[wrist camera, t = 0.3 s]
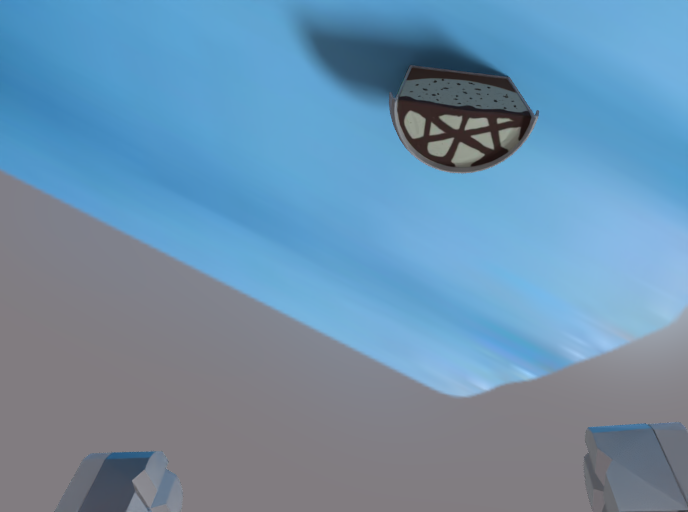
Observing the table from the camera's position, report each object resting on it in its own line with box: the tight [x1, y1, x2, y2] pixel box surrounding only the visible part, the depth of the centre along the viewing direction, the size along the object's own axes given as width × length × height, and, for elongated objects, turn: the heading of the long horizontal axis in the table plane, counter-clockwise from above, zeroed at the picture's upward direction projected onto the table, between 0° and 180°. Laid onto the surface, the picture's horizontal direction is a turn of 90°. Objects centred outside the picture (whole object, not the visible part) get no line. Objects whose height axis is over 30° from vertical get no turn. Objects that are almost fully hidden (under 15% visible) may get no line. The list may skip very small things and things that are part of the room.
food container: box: [389, 65, 539, 173], centre depth 51 cm, size 12×6×10 cm, turn 85°
